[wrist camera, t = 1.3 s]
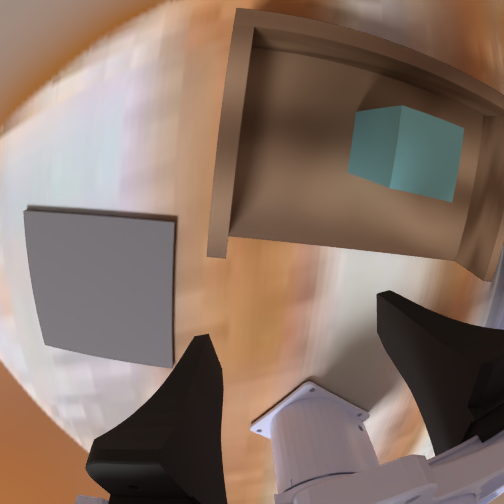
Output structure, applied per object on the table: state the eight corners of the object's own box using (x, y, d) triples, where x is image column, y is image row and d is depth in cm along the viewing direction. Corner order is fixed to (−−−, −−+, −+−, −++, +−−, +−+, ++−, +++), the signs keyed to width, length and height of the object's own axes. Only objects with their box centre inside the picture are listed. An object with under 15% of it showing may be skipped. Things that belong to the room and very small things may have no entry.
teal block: (400, 183, 20) (452, 202, 14) (347, 172, 19) (389, 188, 14) (409, 126, 18) (464, 128, 13) (356, 111, 18) (401, 105, 12)
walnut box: (459, 259, 23) (491, 281, 18) (212, 231, 21) (206, 256, 16) (487, 108, 18) (525, 109, 14) (235, 34, 16) (236, 7, 12)
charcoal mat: (175, 221, 20) (174, 222, 20) (173, 365, 24) (172, 368, 24) (26, 209, 19) (23, 211, 19) (46, 342, 23) (44, 344, 23)
